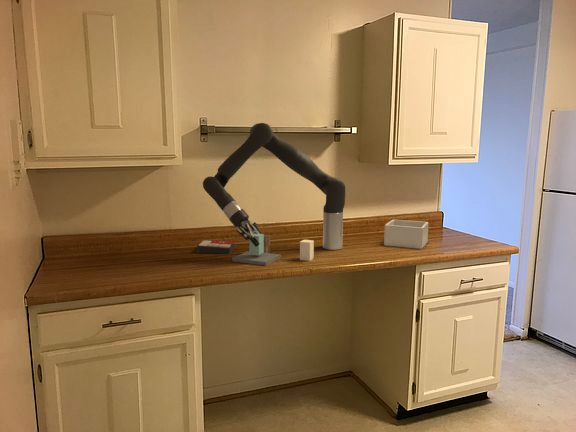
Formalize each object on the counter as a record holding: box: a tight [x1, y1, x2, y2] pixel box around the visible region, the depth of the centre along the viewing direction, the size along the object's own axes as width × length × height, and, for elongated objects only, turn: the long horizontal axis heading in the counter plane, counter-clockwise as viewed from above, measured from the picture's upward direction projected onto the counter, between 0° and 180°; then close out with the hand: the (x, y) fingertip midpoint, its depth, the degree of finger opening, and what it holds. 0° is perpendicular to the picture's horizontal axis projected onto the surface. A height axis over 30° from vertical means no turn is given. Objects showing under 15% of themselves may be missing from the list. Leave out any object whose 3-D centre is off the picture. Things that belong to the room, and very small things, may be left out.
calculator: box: [196, 239, 235, 255], centre depth 217 cm, size 11×4×15 cm
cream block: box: [299, 239, 315, 262], centre depth 202 cm, size 4×4×8 cm
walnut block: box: [264, 234, 271, 253], centre depth 213 cm, size 4×4×8 cm
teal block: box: [248, 232, 265, 255], centre depth 200 cm, size 4×4×8 cm
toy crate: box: [383, 219, 429, 250], centre depth 233 cm, size 18×18×10 cm
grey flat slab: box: [231, 250, 282, 267], centre depth 201 cm, size 14×16×2 cm
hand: (260, 244), depth 199 cm, fingers closed on teal block, 4 cm apart
